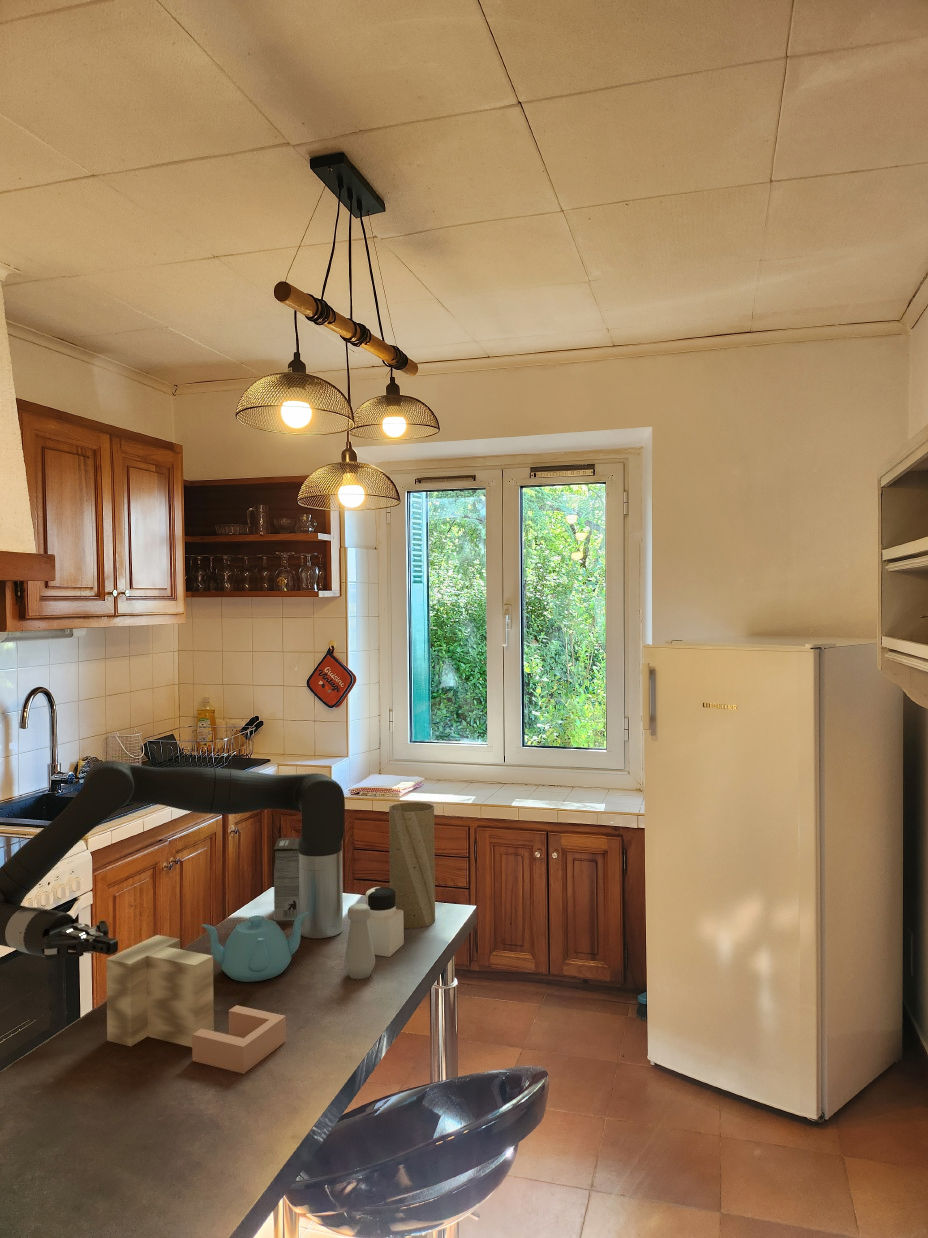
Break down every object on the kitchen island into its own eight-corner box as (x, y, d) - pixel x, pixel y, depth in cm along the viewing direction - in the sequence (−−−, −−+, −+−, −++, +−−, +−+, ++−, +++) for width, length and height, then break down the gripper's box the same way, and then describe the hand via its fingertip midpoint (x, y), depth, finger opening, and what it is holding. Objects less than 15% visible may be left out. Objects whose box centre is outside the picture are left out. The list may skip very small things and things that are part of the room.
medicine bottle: (404, 944, 173) (403, 886, 173) (390, 957, 166) (389, 897, 166) (372, 940, 175) (372, 882, 175) (357, 953, 169) (356, 893, 169)
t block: (107, 1040, 134) (106, 959, 134) (157, 1011, 145) (157, 935, 145) (180, 1059, 128) (179, 974, 128) (228, 1027, 139) (227, 948, 139)
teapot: (254, 951, 171) (253, 900, 171) (314, 964, 164) (313, 911, 164) (200, 978, 158) (199, 923, 158) (262, 994, 151) (261, 936, 151)
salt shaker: (378, 969, 161) (377, 901, 161) (372, 982, 155) (371, 911, 155) (348, 968, 161) (347, 900, 161) (340, 981, 156) (340, 910, 156)
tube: (384, 916, 189) (382, 805, 189) (425, 909, 193) (424, 800, 193) (399, 931, 180) (398, 814, 180) (442, 924, 184) (441, 809, 184)
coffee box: (278, 907, 196) (278, 837, 196) (306, 906, 197) (306, 837, 197) (273, 921, 187) (272, 848, 187) (302, 920, 188) (301, 847, 188)
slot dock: (192, 1061, 128) (192, 1034, 128) (236, 1030, 138) (236, 1005, 138) (243, 1074, 124) (243, 1046, 124) (285, 1041, 134) (285, 1016, 134)
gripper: (7, 922, 142) (82, 938, 135) (72, 899, 154) (144, 912, 147) (6, 967, 142) (82, 985, 135) (71, 940, 154) (144, 956, 147)
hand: (114, 947), depth 141 cm, fingers closed
